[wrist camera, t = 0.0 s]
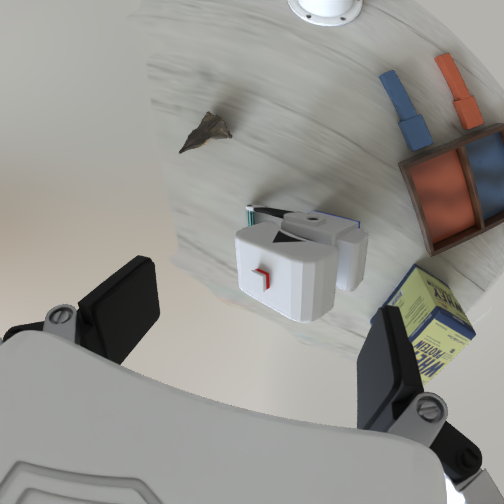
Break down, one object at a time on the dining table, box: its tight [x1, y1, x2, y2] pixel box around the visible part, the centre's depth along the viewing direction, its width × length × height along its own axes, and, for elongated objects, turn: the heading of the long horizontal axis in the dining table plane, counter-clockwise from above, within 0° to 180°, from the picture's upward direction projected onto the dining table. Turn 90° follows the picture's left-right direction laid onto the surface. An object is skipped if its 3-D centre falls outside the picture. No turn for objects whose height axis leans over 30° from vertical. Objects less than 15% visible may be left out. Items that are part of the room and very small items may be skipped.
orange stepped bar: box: [435, 53, 484, 129], centre depth 29 cm, size 13×4×2 cm, turn 30°
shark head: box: [179, 111, 232, 154], centre depth 42 cm, size 8×6×7 cm
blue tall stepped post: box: [379, 70, 433, 151], centre depth 34 cm, size 13×4×2 cm, turn 30°
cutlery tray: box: [398, 123, 504, 257], centre depth 35 cm, size 17×24×3 cm
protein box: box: [370, 264, 476, 386], centre depth 41 cm, size 10×16×16 cm
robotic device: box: [235, 204, 369, 322], centre depth 42 cm, size 10×21×20 cm
